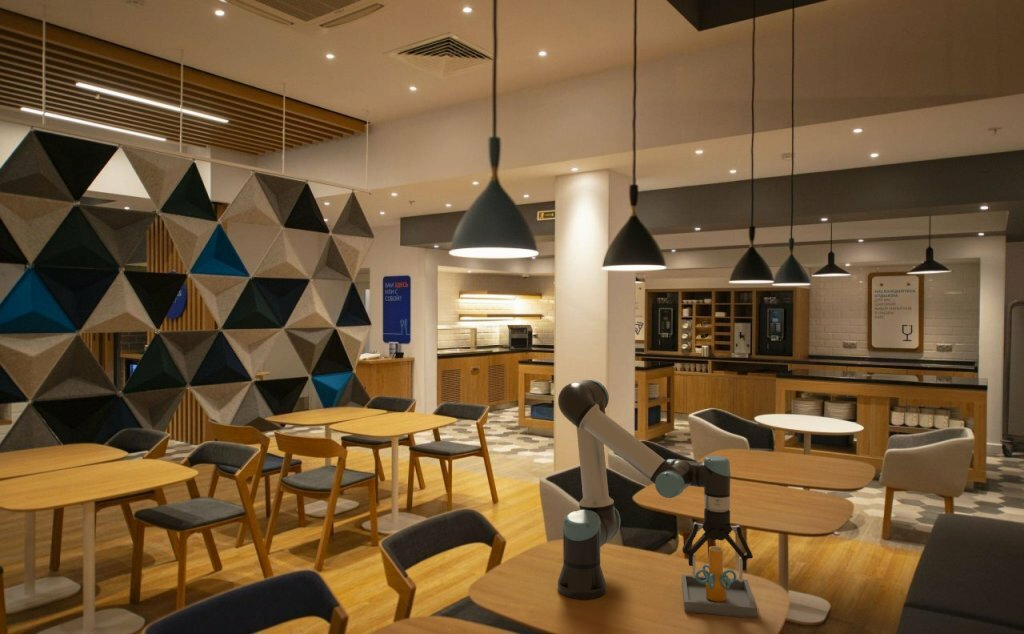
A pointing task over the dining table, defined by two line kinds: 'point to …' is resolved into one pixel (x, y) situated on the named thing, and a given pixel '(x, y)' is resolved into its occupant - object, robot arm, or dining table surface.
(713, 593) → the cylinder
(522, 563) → the dining table surface
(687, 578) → the tray
